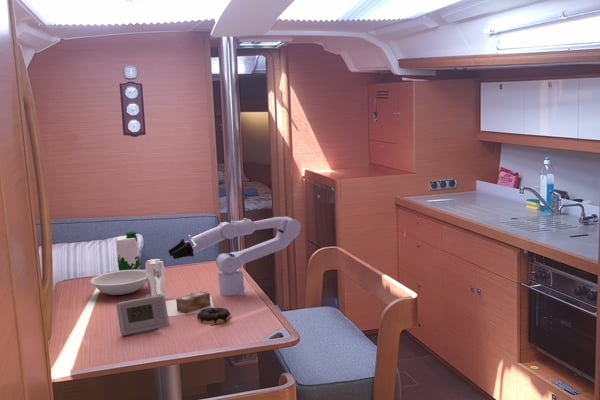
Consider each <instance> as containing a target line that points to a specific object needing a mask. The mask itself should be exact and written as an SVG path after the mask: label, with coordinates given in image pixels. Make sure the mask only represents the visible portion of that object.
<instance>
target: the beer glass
mask: <svg viewBox="0 0 600 400" xmlns="http://www.w3.org/2000/svg"><path fill="white" fill-rule="evenodd" d="M144 263H145V269H144V270H146V278H147V281H146V283H147V285H148V288H149V297H150V296H158V295H163V296H164V297H165V300H166V299H167V298H166V294H165V290H164V289H165V287H164V286H165V267H164V261H163V259H160V258H159V259H158V258H157V259H150V260H146V261H145V262H144Z"/></svg>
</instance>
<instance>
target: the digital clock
mask: <svg viewBox="0 0 600 400" xmlns="http://www.w3.org/2000/svg"><path fill="white" fill-rule="evenodd" d="M165 297H166V296H165ZM165 297H164V296H163V295H158V296H150V295H149V296H146V297H140V298H134V299H129V300H126V301H120V302H117V303H116V313H117V319H118V325H119V332H120V334H121V336H122V337H123V336H124V337H125V336H129V335H130V336H131V335H132V336H134V335H139V334H145V333H149V332H154V331H159V330H160V328H163V327H168V326H169V325H170V322H169V321H170V320H169V317H168V314H167V308H166V302H165V301H166V299H165Z"/></svg>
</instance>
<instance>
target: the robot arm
mask: <svg viewBox="0 0 600 400" xmlns="http://www.w3.org/2000/svg"><path fill="white" fill-rule="evenodd" d="M273 228H274V229H277V233H276V235H275V237H274V238H271V239H268V240H266V241H263V242H261V243H257V244H255V245H252V246H250V247H248V248H244V249H242V250H240V251H231V252H229V253H226V252H223V253H219V255H218V256H216V259H215V264H216V266H217V268H218V271H217V275H218V289H219V295H221V296H223V297H224V296H225V297H226V296H227V297H228V296H235V295H240V296H243V297H244V296H245V289H246V288H245V285H244V282H245V281H244V275H243V271H242V270H241V271H240V270H239V271H238V269H240V268H243V266H244V265H245V264H247V263H250V262H253V261H256V260H257V259H261V258H263V257H265V256H268V255H271V254H275V253H276V252H278V251H281V250H284V249H286V248H288V246H289V245H290V244H291V243H292V242H293V240H294V239H296V238H297V237H298V236H299V235H300V232H301V230H302V225H301V223H300V220H298V219H295V218H292V217H290V216H288V215H287V216H286V215H284V216H275V217H270V218H266V219H260V220H255V221H253V220H251V219H250V218H246V217H244V218H242V219H241V220H231V221H230V222H228V221H224V222H223V221H221V222H220V223H219V224H218V225H217V226H215V227H211V228H210V229H208V230H206V231H203V232H201V233H199V234H197V235H195V236H192V235H191V234H188V235H187V236H188V240H186V241H185V240H184V239H183V238H182V239H180V241H179V242H178V243H177V244H176V245H174V246H173V247H171V248H170V249H168V250H167V252H168V254H169V257H172V258H173V259H174V260H176V259H181V258H182V259H183V258H185V257H186V258H187V257H195V254H197V253H199V252H200V251H203V250H204V249H207V248H210V247H211V246H214V245H216V244H218V243H220V242H222V241H224V240H226V239H229V240H233V239H234V238H235V237H241V236H245V235H252V234H253V233H254V232H255V231H256V230H257V231H258V230H266V229H273Z"/></svg>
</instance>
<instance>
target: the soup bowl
mask: <svg viewBox="0 0 600 400" xmlns="http://www.w3.org/2000/svg"><path fill="white" fill-rule="evenodd" d="M89 282H90V285H93V286H95V287H96V289H97V290H98V291H99V292H101V293H103V294H105V295H110V296H120V295H128V294H131V293H135V292H137V291H138V290H139V291H140V289H142V288H143V287H144V285H145V284H146V283H147V278H146V270H145V269H140V270H121V271H119V270H114V271H111V272H106V273H101V274H99V275H96V276H94V277H93V278H92V277H91V279H90V280H89Z"/></svg>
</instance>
